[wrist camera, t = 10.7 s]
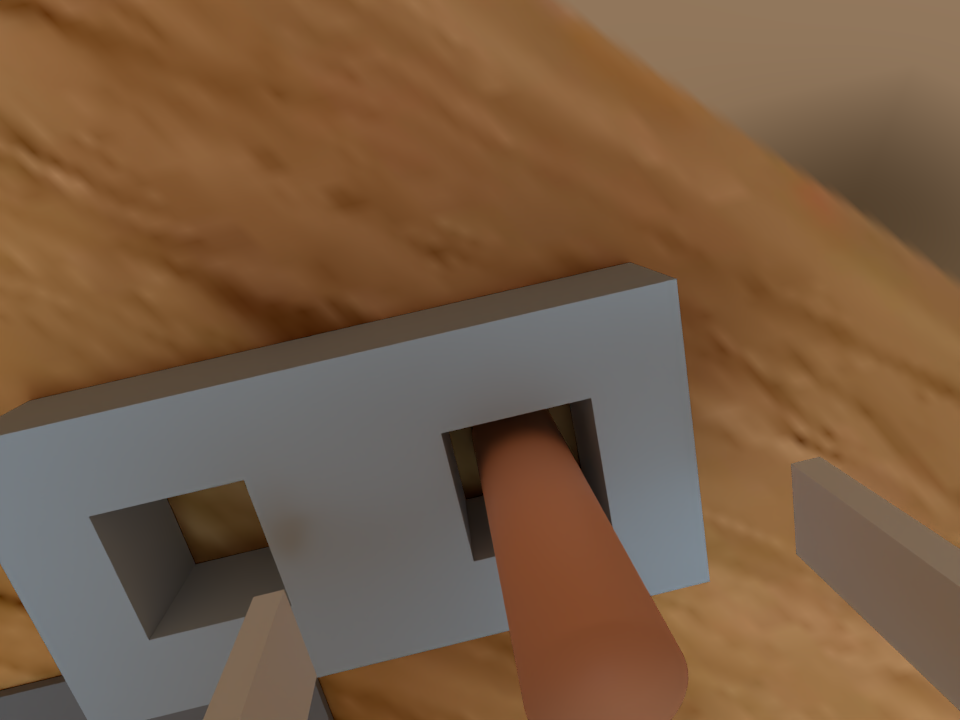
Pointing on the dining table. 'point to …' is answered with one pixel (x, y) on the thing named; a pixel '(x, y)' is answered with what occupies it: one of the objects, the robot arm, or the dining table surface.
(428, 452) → the hole block
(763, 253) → the dining table surface
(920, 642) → the robot arm
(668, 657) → the dowel
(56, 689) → the mat
